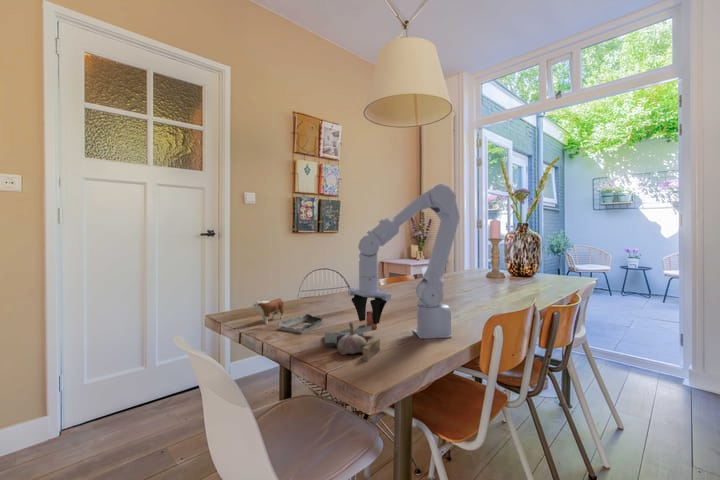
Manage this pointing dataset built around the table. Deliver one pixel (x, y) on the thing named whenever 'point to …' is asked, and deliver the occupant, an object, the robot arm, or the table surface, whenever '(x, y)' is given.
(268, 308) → the bull figurine
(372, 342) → the bar
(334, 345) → the base
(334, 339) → the lever
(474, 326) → the table surface
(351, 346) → the garlic bulb
